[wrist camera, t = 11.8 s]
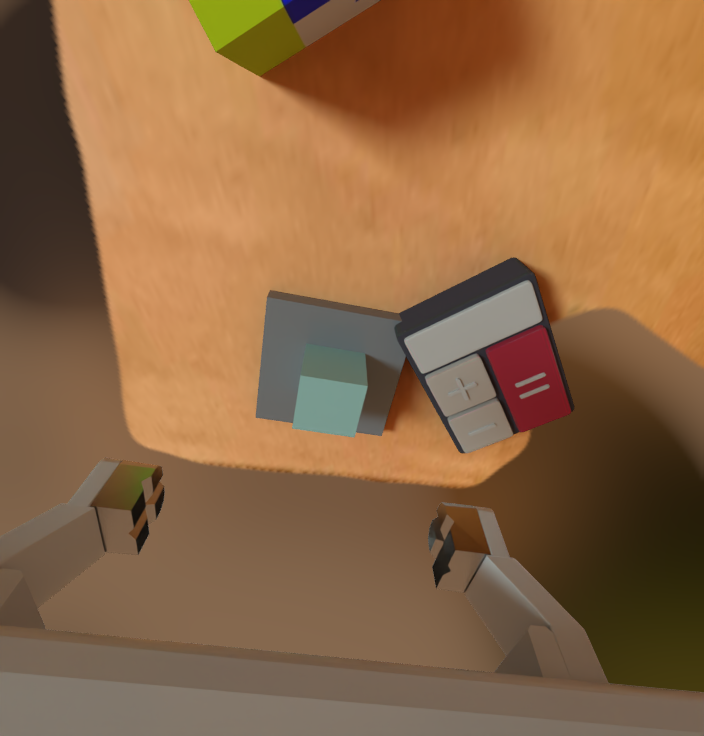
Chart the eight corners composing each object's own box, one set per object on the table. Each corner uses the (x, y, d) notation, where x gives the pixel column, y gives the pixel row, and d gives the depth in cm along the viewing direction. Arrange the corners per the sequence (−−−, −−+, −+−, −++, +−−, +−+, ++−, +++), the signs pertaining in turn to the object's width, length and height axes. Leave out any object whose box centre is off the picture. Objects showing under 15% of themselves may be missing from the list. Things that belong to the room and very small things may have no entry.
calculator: (462, 461, 38) (395, 341, 31) (452, 430, 42) (389, 316, 34) (580, 416, 36) (538, 273, 28) (558, 387, 39) (515, 254, 32)
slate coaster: (413, 316, 34) (415, 323, 33) (380, 426, 40) (381, 435, 39) (270, 290, 33) (267, 297, 31) (258, 407, 39) (255, 417, 38)
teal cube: (365, 353, 34) (367, 386, 30) (353, 400, 37) (354, 437, 32) (306, 343, 34) (300, 375, 29) (298, 392, 36) (292, 428, 32)
